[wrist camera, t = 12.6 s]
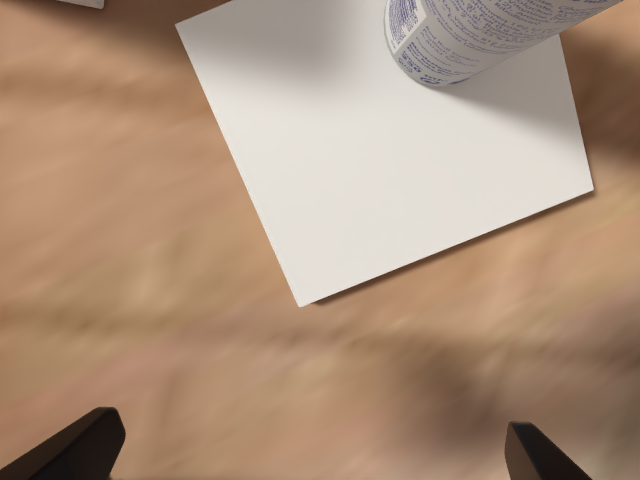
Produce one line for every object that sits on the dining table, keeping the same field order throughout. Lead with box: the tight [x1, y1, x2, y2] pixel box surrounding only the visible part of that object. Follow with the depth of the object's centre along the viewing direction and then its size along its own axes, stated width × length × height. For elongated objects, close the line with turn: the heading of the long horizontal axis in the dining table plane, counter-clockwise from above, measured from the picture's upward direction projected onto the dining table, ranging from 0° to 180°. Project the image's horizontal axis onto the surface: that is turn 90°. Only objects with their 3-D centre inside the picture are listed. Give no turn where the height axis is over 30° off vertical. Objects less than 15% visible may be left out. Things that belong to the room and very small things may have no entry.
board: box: [175, 0, 594, 308], centre depth 17 cm, size 16×14×1 cm
